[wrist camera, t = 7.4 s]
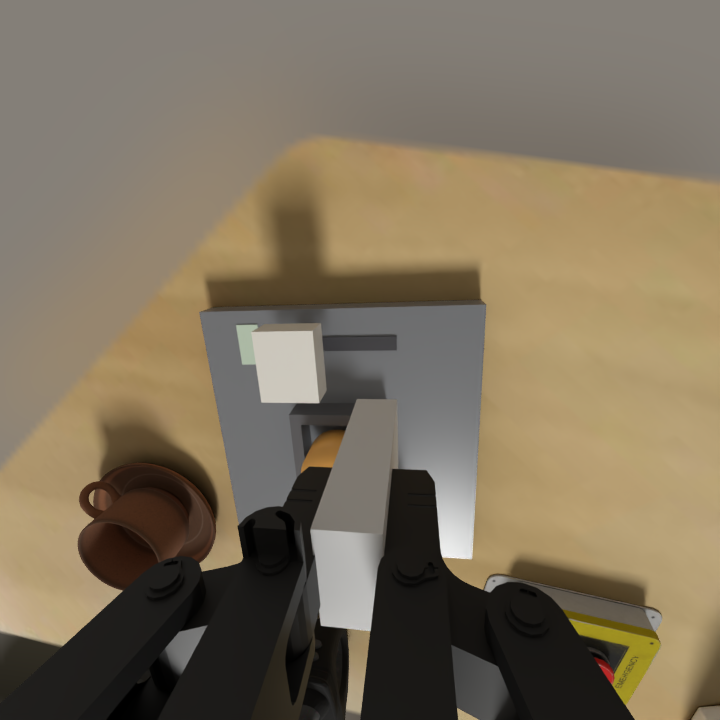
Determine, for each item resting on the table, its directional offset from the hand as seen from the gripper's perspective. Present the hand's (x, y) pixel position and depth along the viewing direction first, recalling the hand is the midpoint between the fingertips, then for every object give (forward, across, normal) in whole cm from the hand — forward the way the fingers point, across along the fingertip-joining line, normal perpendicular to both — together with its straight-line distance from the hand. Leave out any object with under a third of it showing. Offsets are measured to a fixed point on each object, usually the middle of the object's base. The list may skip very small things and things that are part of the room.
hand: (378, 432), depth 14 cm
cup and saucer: (+15, +23, +17) cm, 32 cm away
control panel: (+14, +4, +8) cm, 17 cm away
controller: (+14, +7, +32) cm, 36 cm away
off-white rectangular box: (+12, +6, 0) cm, 14 cm away
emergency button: (+15, -14, +28) cm, 35 cm away
